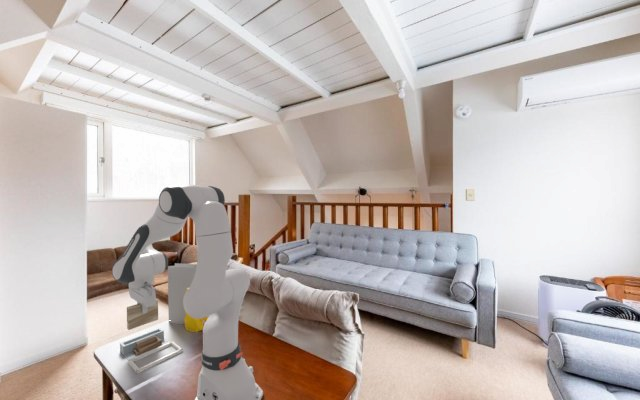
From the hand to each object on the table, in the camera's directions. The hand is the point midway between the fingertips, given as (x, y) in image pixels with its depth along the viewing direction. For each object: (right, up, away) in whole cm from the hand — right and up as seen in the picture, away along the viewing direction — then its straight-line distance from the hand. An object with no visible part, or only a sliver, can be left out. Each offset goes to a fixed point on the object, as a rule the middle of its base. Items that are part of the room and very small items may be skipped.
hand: (143, 312), depth 109 cm
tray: (+11, -15, -8) cm, 21 cm away
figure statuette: (+16, -15, +13) cm, 26 cm away
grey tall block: (+7, -15, +21) cm, 27 cm away
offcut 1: (+4, -12, -3) cm, 13 cm away
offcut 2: (+5, -13, -3) cm, 14 cm away
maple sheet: (0, -5, 0) cm, 5 cm away
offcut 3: (+4, -14, -3) cm, 15 cm away
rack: (+2, -15, -2) cm, 16 cm away
